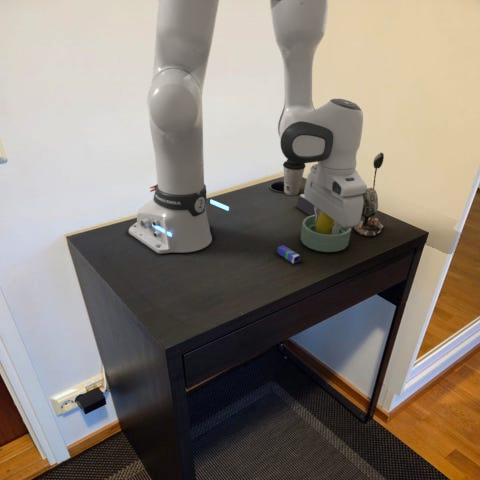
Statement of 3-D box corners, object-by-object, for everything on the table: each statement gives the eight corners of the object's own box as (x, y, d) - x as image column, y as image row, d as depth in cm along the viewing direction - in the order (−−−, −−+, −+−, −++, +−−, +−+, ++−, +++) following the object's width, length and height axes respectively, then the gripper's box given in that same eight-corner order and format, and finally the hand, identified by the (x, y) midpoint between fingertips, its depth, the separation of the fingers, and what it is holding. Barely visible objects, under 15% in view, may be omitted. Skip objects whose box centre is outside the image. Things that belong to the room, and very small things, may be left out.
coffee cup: (285, 197, 137) (288, 165, 131) (277, 189, 142) (279, 157, 136) (306, 195, 139) (310, 163, 133) (296, 187, 144) (300, 156, 138)
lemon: (326, 246, 112) (331, 217, 107) (309, 238, 115) (313, 209, 110) (339, 239, 115) (345, 211, 110) (323, 232, 118) (327, 203, 113)
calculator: (361, 199, 129) (322, 206, 122) (358, 213, 131) (319, 221, 124) (336, 186, 136) (298, 192, 129) (333, 199, 138) (295, 206, 132)
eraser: (293, 264, 106) (294, 257, 105) (277, 254, 110) (277, 246, 108) (299, 262, 107) (300, 254, 106) (283, 251, 111) (283, 244, 109)
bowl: (292, 243, 114) (293, 225, 111) (315, 227, 122) (317, 210, 119) (334, 258, 109) (337, 240, 105) (355, 240, 116) (359, 223, 113)
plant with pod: (340, 229, 121) (353, 155, 109) (368, 219, 126) (384, 148, 114) (361, 241, 116) (378, 165, 104) (391, 231, 121) (410, 157, 109)
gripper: (301, 162, 111) (295, 214, 119) (348, 193, 96) (337, 249, 105) (322, 160, 113) (315, 210, 121) (371, 189, 98) (359, 244, 107)
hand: (326, 228), depth 113 cm, fingers closed on lemon, 5 cm apart
